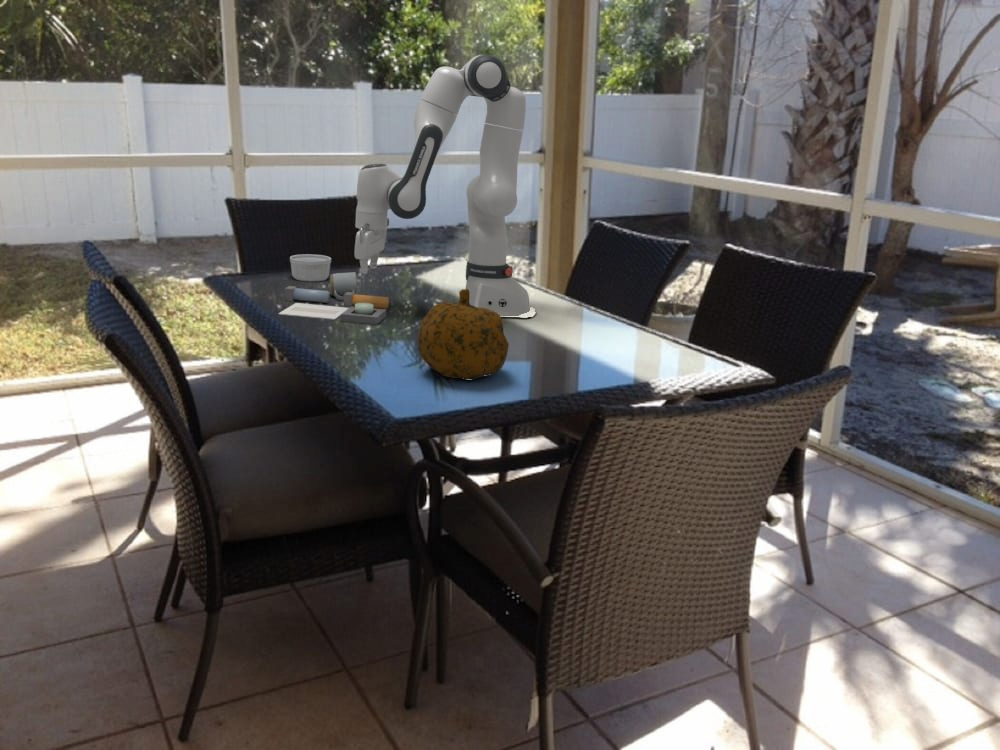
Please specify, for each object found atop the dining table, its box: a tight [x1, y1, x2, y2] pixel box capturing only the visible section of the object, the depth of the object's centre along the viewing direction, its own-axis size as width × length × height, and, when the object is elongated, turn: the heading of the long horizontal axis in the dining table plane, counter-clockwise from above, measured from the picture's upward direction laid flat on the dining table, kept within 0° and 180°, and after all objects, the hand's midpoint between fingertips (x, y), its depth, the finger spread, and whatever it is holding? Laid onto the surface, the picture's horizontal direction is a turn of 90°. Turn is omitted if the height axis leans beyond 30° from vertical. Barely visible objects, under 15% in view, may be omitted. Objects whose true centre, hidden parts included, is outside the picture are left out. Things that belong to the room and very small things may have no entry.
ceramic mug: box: [329, 271, 358, 302], centre depth 284 cm, size 10×8×7 cm
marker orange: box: [343, 292, 390, 310], centre depth 274 cm, size 12×4×4 cm, turn 82°
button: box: [354, 303, 373, 315], centre depth 260 cm, size 5×5×2 cm
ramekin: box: [289, 253, 332, 282], centre depth 308 cm, size 13×13×7 cm
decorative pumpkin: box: [417, 288, 510, 380], centre depth 214 cm, size 20×21×20 cm
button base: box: [340, 306, 387, 325], centre depth 260 cm, size 10×10×2 cm
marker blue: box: [284, 285, 331, 304], centre depth 277 cm, size 12×4×4 cm, turn 82°
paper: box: [278, 302, 350, 321], centre depth 265 cm, size 16×14×1 cm
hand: (368, 270), depth 271 cm, fingers open, 8 cm apart
